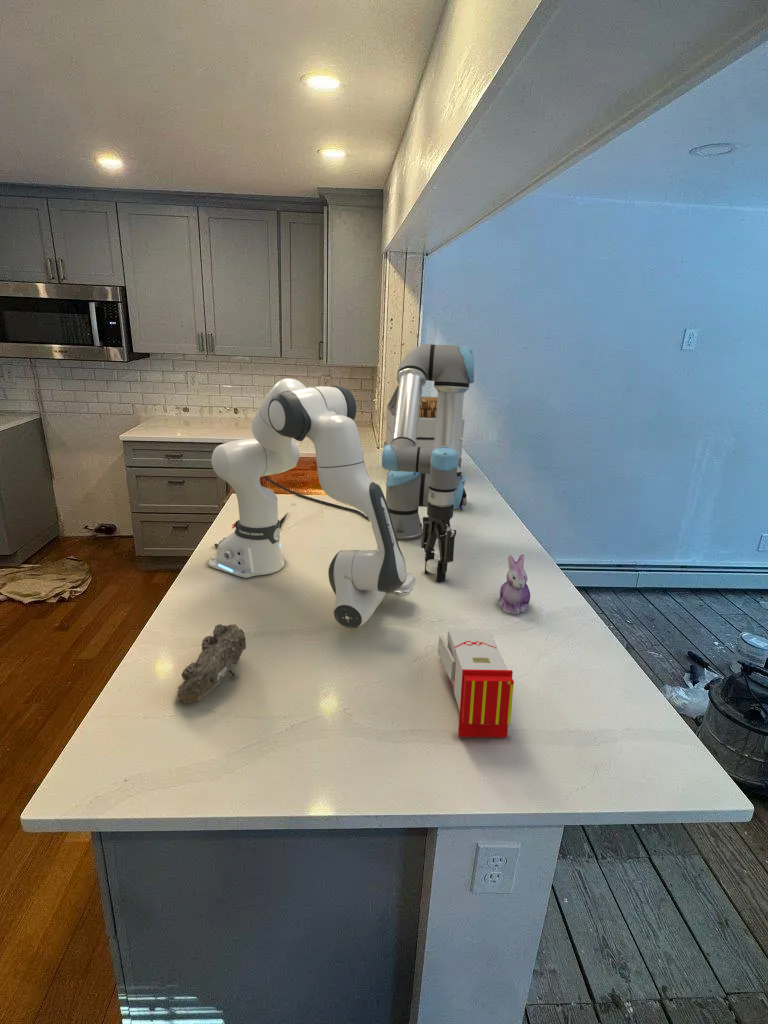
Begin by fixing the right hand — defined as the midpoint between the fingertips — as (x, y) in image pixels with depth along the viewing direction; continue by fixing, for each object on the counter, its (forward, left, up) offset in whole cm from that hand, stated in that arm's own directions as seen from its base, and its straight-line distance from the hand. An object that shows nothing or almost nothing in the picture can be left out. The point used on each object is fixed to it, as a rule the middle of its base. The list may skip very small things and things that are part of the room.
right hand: (434, 576), depth 169 cm
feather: (-68, -9, 0) cm, 69 cm away
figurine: (+26, +5, 0) cm, 26 cm away
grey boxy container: (-84, +75, 0) cm, 113 cm away
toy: (+42, -33, 0) cm, 53 cm away
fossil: (+6, -71, 0) cm, 72 cm away
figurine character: (-40, +54, 0) cm, 67 cm away
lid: (0, 0, +4) cm, 4 cm away
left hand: (-4, -16, +6) cm, 18 cm away
